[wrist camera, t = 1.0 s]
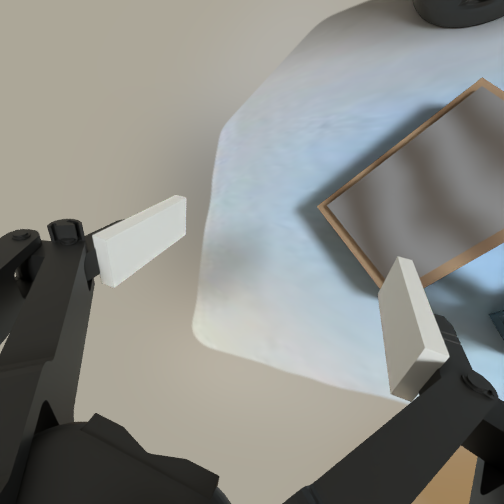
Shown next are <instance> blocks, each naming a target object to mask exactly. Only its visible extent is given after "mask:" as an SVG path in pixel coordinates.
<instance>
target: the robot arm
mask: <svg viewBox="0 0 504 504" xmlns="http://www.w3.org/2000/svg"><path fill="white" fill-rule="evenodd" d="M413 3H414V6H415V9H416V11H417V12H418V14H419V15H420V16H421V17H422V18H424V19H425V20H426V21H428V22H430V23H432V24H435V25H439V26H444V27H465V26H472V25H477V24H481V23H485V22H488V21H491V20H494V19H497V18H499V17H502V16H504V0H413ZM47 227H48V231H49V234H50V238H51V241H43V240H41V239H40V236H39V233H38V232H37V231H35V230H30V229H28V230H27V229H20V230H15V231H13V232H10V233H8V234H6V235H4V236H3V237H1V238H0V344H1V343H2V342H3V341H4V340H5V338H6V337H7V336H8V335H9V336H8V338H7V341H6V343H5V345H4V347H3V349H2V351H1V354H0V504H231V503H230V501H229V500H228V498H227V497H226V496H225V494H224V493H223V492H222V491H221V490H220V489H219V488H218V487H217V486H218V480H219V476H218V475H216V474H214V473H212V472H210V471H208V470H207V469H204V468H203V467H201V466H199V465H197V464H195V463H193V462H191V461H189V460H187V459H182V458H175V457H168V456H162V455H154V454H150V453H147V452H146V451H145V450H144V449H143V448H142V447H141V446H140V445H139V444H138V442H137V441H136V440H135V439H134V438H133V437H132V436H131V435H130V434H129V433H128V431H127V430H126V429H125V428H124V427H123V426H120V425H119V424H117V423H115V422H113V421H111V420H109V419H107V418H105V417H103V416H101V415H99V414H97V413H95V414H94V415H93V417H92V418H91V419H90V420H89V421H88V422H74V417H73V416H74V404H75V397H76V392H77V386H78V380H79V374H80V368H81V362H82V356H83V350H84V344H85V338H86V332H87V327H88V321H89V315H90V309H91V303H92V297H93V290H94V285H95V283H94V277H95V276H97V275H99V274H100V278H101V282H102V284H105V285H107V286H110V287H113V288H115V287H116V286H118V285H119V284H120V283H122V282H123V281H124V280H126V279H127V278H128V277H130V276H131V275H132V274H134V273H135V272H136V271H138V270H139V269H140V268H142V267H143V266H144V265H146V264H147V263H148V262H150V261H151V260H152V259H154V258H155V257H156V256H158V255H159V254H160V253H162V252H163V251H165V250H166V249H167V248H169V247H170V246H171V245H173V244H174V243H175V242H177V241H178V240H179V239H181V238H182V237H183V236H185V235H186V197H182V196H178V195H175V196H172V197H170V198H168V199H167V200H164V201H162V202H160V203H158V204H156V205H154V206H152V207H150V208H148V209H145V210H143V211H141V212H140V213H137V214H135V215H133V216H131V217H129V218H127V219H123V220H119V221H116V222H114V223H112V224H110V225H107V226H105V227H104V228H101V229H99V230H97V231H95V232H92V233H90V234H88V235H86V236H84V231H83V227H82V222H80V221H78V220H75V219H62V220H57V221H54V222H51V223H50V224H49V225H47ZM15 273H16V275H17V276H16V277H14V274H15ZM378 300H379V308H380V316H381V323H382V331H383V339H384V346H385V354H386V362H387V369H388V377H389V385H390V392H391V394H392V395H395V396H397V397H400V398H402V399H405V400H408V401H410V402H411V403H410V404H409V405H408V406H406V407H405V408H404V409H403V410H402V411H400V412H399V413H398V414H397V415H395V416H394V417H393V418H392V419H391V420H389V421H388V422H387V423H386V424H385V425H383V426H382V427H381V428H380V429H379V430H377V431H376V432H375V433H374V434H373V435H371V436H370V437H369V438H368V439H366V440H365V441H364V442H363V443H361V444H360V445H359V446H358V447H357V448H355V449H354V450H353V451H352V452H351V453H349V454H348V455H347V456H346V457H345V458H343V459H342V460H341V461H340V462H338V463H337V464H336V465H335V466H333V467H332V468H331V469H330V470H329V471H327V472H326V473H325V474H324V475H323V476H322V477H320V478H319V479H318V480H317V481H315V482H314V483H313V484H311V485H309V486H305V487H303V488H302V489H300V490H299V491H298V492H296V493H295V494H294V495H293V496H291V497H290V498H289V499H288V500H286V501H285V502H284V503H283V504H411V503H412V502H413V501H414V500H415V499H416V497H417V496H418V495H419V494H420V493H421V491H422V490H423V489H424V488H425V487H426V486H427V484H428V483H429V482H430V481H431V480H432V479H433V477H434V476H435V475H436V474H437V473H438V471H439V470H440V469H441V468H442V467H443V466H444V464H445V463H446V462H447V461H448V460H449V459H450V457H451V456H452V455H453V454H454V453H455V451H456V450H457V449H458V448H459V447H460V445H461V446H463V447H464V448H466V449H467V450H469V451H470V452H472V453H473V454H475V455H476V456H478V458H477V464H476V469H475V475H474V480H473V486H472V491H471V497H470V503H469V504H504V401H502V400H500V399H499V398H498V395H497V392H496V390H495V389H494V387H493V386H492V385H491V383H490V382H489V381H487V380H486V379H485V378H484V377H483V376H482V375H480V374H478V373H477V372H475V371H474V370H472V367H471V365H470V363H469V361H468V359H467V357H466V354H465V352H464V350H463V348H462V346H461V345H460V341H459V339H458V337H457V335H456V332H455V330H454V328H453V326H452V325H451V324H450V323H449V322H448V321H447V320H446V318H445V317H443V316H440V315H437V314H434V313H433V312H432V309H431V307H430V304H429V302H428V299H427V297H426V294H425V291H424V289H423V286H422V284H421V281H420V279H419V276H418V273H417V271H416V268H415V266H414V263H413V261H412V260H410V259H406V258H402V257H399V256H397V258H396V260H395V262H394V264H393V266H392V268H391V270H390V272H389V273H388V275H387V277H386V279H385V281H384V283H383V285H382V287H381V289H380V291H379V293H378ZM9 333H10V334H9ZM418 394H419V395H420V396H419V397H417V398H416V399H415V400H414V401H413V399H414V398H415V397H416V396H417V395H418Z"/></svg>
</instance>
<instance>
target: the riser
mask: <svg viewBox="0 0 504 504" xmlns="http://www.w3.org/2000/svg"><path fill="white" fill-rule="evenodd" d="M317 207H318V209H319V210H320V211H321V213H322V214H323V215H324V217H325V218H326V219H327V220H328V222H329V223H330V224H331V226H332V227H333V228H334V230H335V231H336V232H337V233H338V235H339V236H340V237H341V239H342V240H343V241H344V243H345V244H346V245H347V247H348V248H349V249H350V250H351V252H352V253H353V254H354V256H355V257H356V258H357V260H358V261H359V262H360V263H361V265H362V266H363V267H364V269H365V270H366V271H367V273H368V274H369V275H370V276H371V278H372V279H373V280H374V282H375V283H376V284H377V286H378V287H379V288H380V289H381V287H382V285H383V283H384V281H385V279H386V277H387V275H388V273H389V272H390V270H391V268H392V266H393V264H394V262H395V260H396V258H397V256H399V257H402V258H406V259H410V260H412V261H413V263H414V266H415V268H416V271H417V273H418V276H419V279H420V281H421V284H422V286H423V288H425V287H427V286H428V285H430V284H432V283H434V282H435V281H437V280H439V279H441V278H442V277H444V276H446V275H448V274H449V273H451V272H453V271H455V270H456V269H458V268H460V267H462V266H463V265H465V264H467V263H469V262H470V261H472V260H474V259H476V258H477V257H479V256H481V255H483V254H484V253H486V252H488V251H490V250H492V249H493V248H495V247H497V246H499V245H500V244H502V243H504V91H502V90H501V89H499V88H498V87H496V86H494V85H493V84H491V83H490V82H488V81H487V80H485V79H484V78H481V79H480V80H478V81H477V82H476V83H475V84H473V85H472V86H471V87H469V88H468V89H467V90H466V91H464V92H463V93H462V94H460V95H459V96H458V97H457V98H455V99H454V100H453V101H451V102H450V103H449V104H448V105H446V106H445V107H444V108H443V109H441V110H440V111H439V112H437V113H436V114H435V115H434V116H432V117H431V118H430V119H428V120H427V121H426V122H425V123H423V124H422V125H421V126H419V127H418V128H417V129H416V130H414V131H413V132H412V133H410V134H409V135H408V136H407V137H405V138H404V139H403V140H401V141H400V142H399V143H398V144H396V145H395V146H394V147H393V148H391V149H390V150H389V151H387V152H386V153H385V154H384V155H382V156H381V157H380V158H378V159H377V160H376V161H375V162H373V163H372V164H371V165H369V166H368V167H367V168H366V169H364V170H363V171H362V172H360V173H359V174H358V175H357V176H355V177H354V178H353V179H352V180H350V181H349V182H348V183H346V184H345V185H344V186H343V187H341V188H340V189H339V190H337V191H336V192H335V193H334V194H332V195H331V196H330V197H328V198H327V199H326V200H325V201H323V202H322V203H321V204H319V205H318V206H317Z"/></svg>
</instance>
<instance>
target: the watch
mask: <svg viewBox="0 0 504 504" xmlns="http://www.w3.org/2000/svg"><path fill="white" fill-rule="evenodd" d="M489 316H490V318H491V320H492V321H493V323H494V325H495V326H496V328H497V330H498V331H499V333H500V335H501V337H502V338H503V340H504V310H503V311H499V312H496V313H492V314H489Z"/></svg>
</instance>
